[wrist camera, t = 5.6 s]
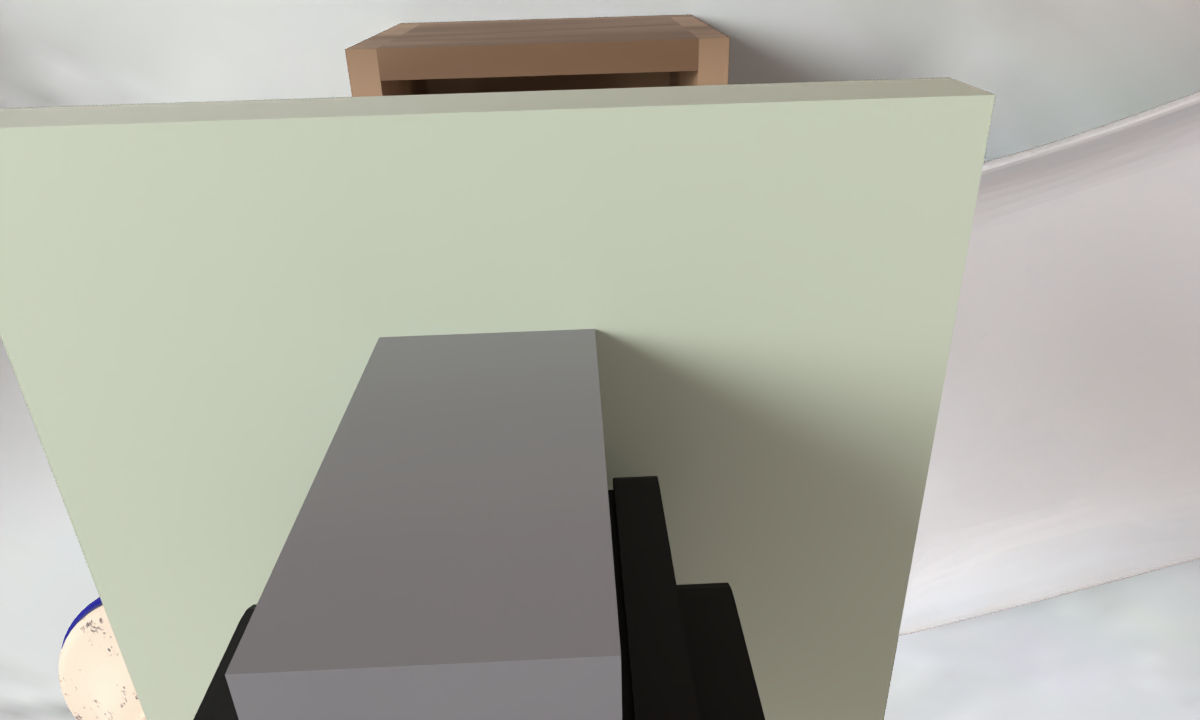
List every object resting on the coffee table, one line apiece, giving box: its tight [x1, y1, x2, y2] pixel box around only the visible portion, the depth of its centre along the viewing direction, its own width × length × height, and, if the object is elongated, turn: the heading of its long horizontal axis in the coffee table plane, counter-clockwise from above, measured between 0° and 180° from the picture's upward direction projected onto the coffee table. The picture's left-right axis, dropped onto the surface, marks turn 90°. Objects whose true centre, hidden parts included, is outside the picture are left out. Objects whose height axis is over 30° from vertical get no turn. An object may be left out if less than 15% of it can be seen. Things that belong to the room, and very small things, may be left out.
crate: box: [345, 15, 730, 97], centre depth 28 cm, size 10×10×8 cm
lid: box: [0, 77, 995, 720], centre depth 9 cm, size 11×11×6 cm
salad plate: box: [899, 91, 1200, 636], centre depth 35 cm, size 21×21×3 cm
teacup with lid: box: [59, 597, 146, 720], centre depth 33 cm, size 12×9×12 cm
